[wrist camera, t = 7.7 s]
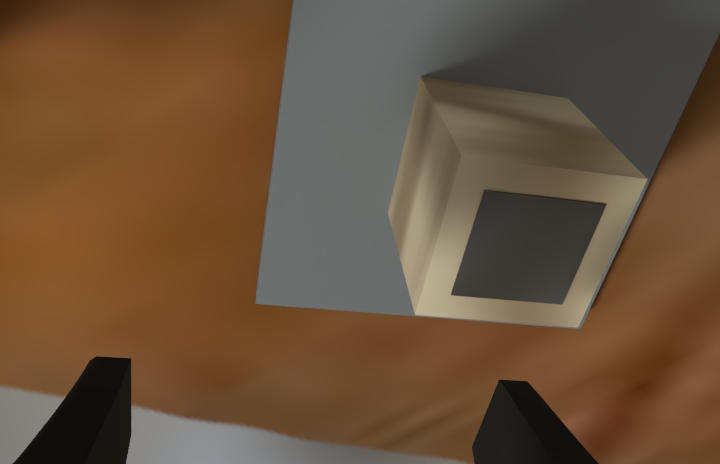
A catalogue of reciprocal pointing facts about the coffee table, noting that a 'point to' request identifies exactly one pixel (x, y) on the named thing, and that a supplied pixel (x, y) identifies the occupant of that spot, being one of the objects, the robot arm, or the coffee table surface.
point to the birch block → (506, 204)
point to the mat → (395, 104)
